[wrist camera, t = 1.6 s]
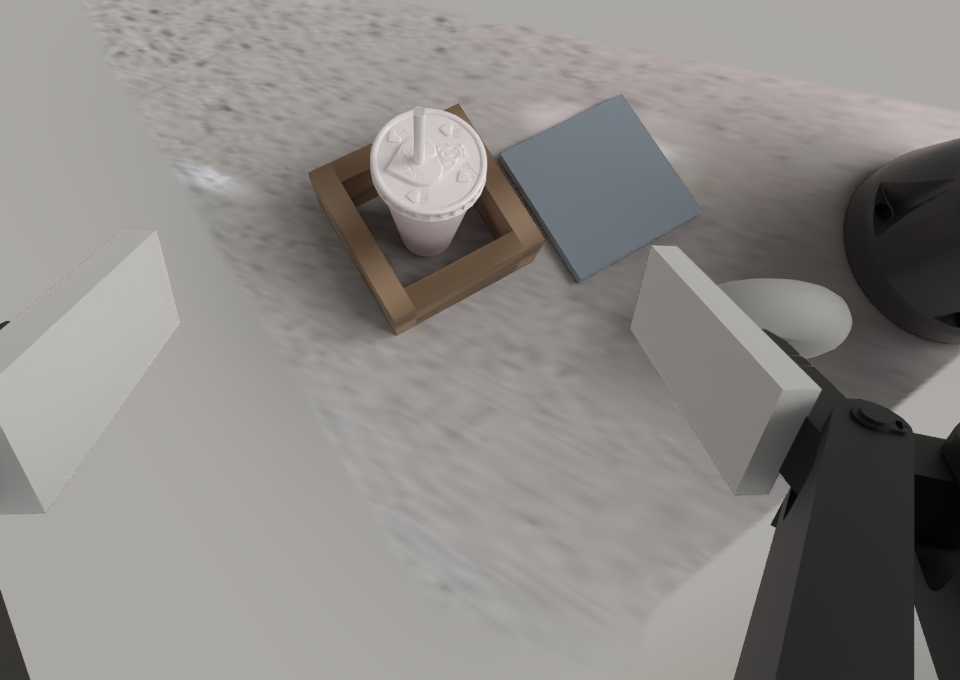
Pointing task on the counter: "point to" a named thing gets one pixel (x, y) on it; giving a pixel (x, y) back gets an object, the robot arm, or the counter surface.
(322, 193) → the collar
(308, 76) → the counter surface
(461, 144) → the smoothie
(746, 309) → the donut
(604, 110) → the coaster
